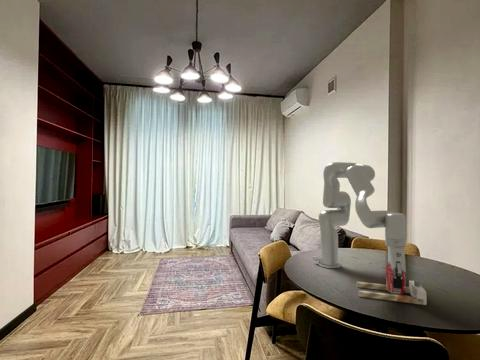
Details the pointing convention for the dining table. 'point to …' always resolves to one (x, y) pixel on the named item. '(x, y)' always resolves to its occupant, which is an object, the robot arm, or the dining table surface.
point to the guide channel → (386, 296)
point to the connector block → (417, 290)
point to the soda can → (390, 281)
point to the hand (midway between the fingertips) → (395, 284)
